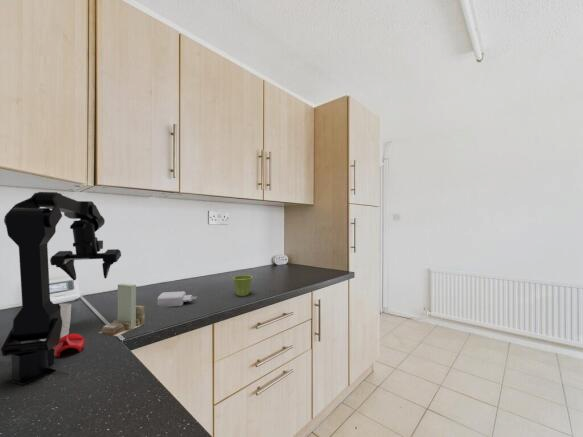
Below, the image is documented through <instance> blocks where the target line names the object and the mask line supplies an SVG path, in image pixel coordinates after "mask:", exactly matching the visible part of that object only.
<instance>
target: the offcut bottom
mask: <svg viewBox="0 0 583 437" xmlns="http://www.w3.org/2000/svg"><path fill="white" fill-rule="evenodd" d="M101 331H102V333H103V334H102V335H106V334H108V335H107V336H112V335H115V334H118V333H120V332H122V331H125V326H123V327H122V328H119V329H117V330H115V331H110V330H104V329H103V328H102V329H101Z"/></svg>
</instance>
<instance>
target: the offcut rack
mask: <svg viewBox="0 0 583 437" xmlns="http://www.w3.org/2000/svg"><path fill="white" fill-rule="evenodd" d="M145 309H146V308H145V305H137V304H136V326H135V327H133V328H131V323H128V322H122V321H118V320H117V319H116V320H113V321H112V323H113V322H115V323H121V324H123V326H125V331H122V332H120V333H118V334H115V335H111V336H113V337H119V336H121V335H123V334H124V333H127V332H130V331H132V330H134V329H136V328H138V327H139V328H140V327H142V326H143V325H145V324H146V323H145V322H146V321H145V320H146V319H145V316H146V315H145V314H146V310H145ZM98 334H102V335H104V334H103V333H102V330H101V331H98ZM105 335H107V336H109V335H108V334H105Z"/></svg>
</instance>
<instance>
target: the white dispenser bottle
mask: <svg viewBox="0 0 583 437" xmlns="http://www.w3.org/2000/svg"><path fill="white" fill-rule="evenodd" d="M186 294H187V293H186V291H184V290H183V291H169V292H168V291H166V292H161V293H160V294H159V296H158V297H157V303H156V304H157V307H163V308H164V307H165V308H175V307H176V308H177V307H182V306H183V305H184V303H186V302H187V303H188V302H189V303H190V302H192V301H193V300H195V299H196V300H197V298H198V296H193V294H187V295H186Z"/></svg>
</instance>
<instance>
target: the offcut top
mask: <svg viewBox="0 0 583 437" xmlns="http://www.w3.org/2000/svg"><path fill="white" fill-rule="evenodd" d="M122 327H123V324H121V323H115V322H113V321H112V322H111V323H109V324H106V325H103V328H102V329H104V330H110V331H115V330H117V329H119V328H122Z"/></svg>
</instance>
